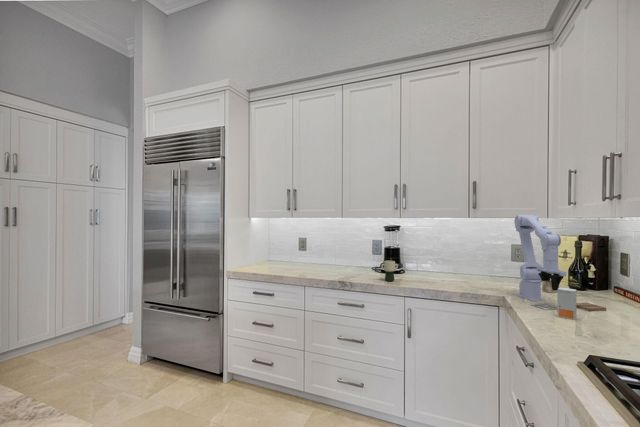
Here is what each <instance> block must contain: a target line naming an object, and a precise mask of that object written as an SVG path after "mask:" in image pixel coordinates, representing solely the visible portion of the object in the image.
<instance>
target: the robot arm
mask: <svg viewBox="0 0 640 427" xmlns="http://www.w3.org/2000/svg"><path fill="white" fill-rule="evenodd" d="M513 221H514V228H515V231H516V232H517V233H518V234H519V239H520V245H521V249H522V254H523V259H524V263H523V264H521V265H520V267H519V276H520V278H521V281H520V282H519V286H518V287H519V290H518V291H519V294H518V295H517V297H519V298H522V299H526V300H529V301H531V302H532V301H534V302H535V301H546V299H545V298H543V297H542V294H541V293H542V286H541V285H542V284H541V283H542V281H551V282H552V290H554V291H555V290H558V287H559V288H560V283H561V282H562V281H563V279H564V277H567V271H564V270H560V269H559V246H561V243H562V238H561V236H560V235H559V234H558V233H553V232H552V231H551V230H550V229H549V228H548V227H547V226H546V225H542V224H541V223H540V222H539V216H538V215H537V214H516V216H515V217H514V220H513ZM533 232H534V233H535V235H536V237H538V238H539V239H540V240H539V241H540V245H541V250H542V256H543V258H542V263H543V264H540V263H538V262H537V259H536V255H535V251H534V247H533V241H532V237H531V236H532V235H531V233H533Z"/></svg>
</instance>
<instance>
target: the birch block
mask: <svg viewBox="0 0 640 427" xmlns="http://www.w3.org/2000/svg"><path fill="white" fill-rule="evenodd" d="M541 283H542V284H541V285H542V286H541V293H546V294H558V290H555V291H554V290H552V282H551V280H550V281H542V282H541ZM558 288H560V286H559V287H558Z"/></svg>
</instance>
